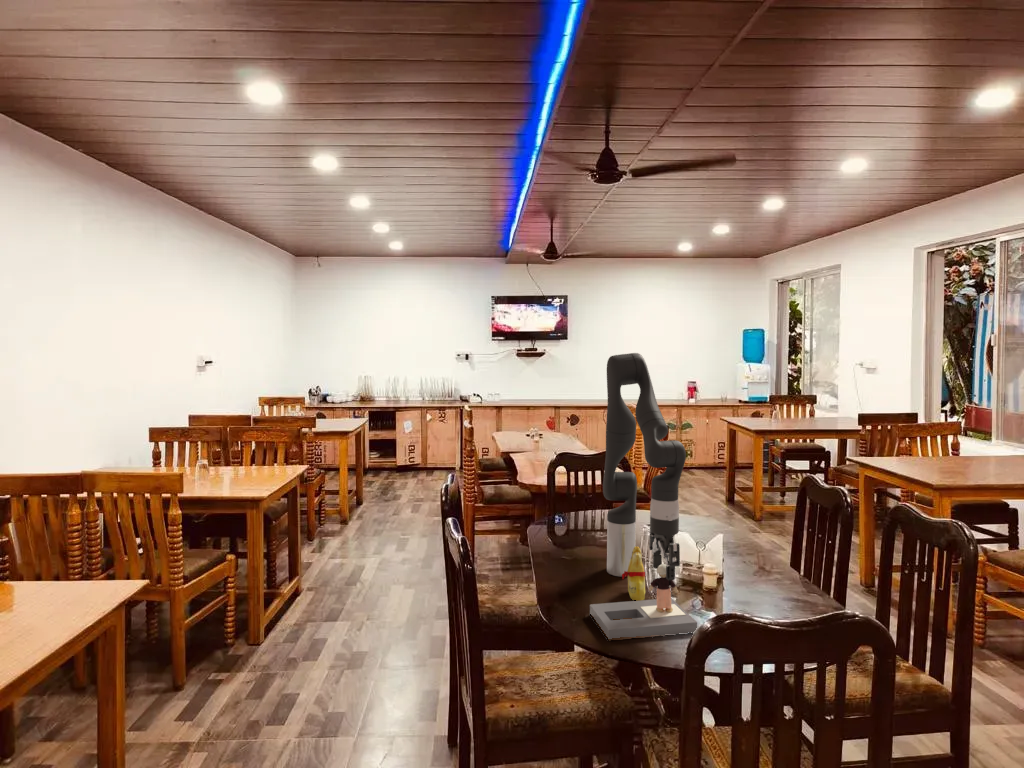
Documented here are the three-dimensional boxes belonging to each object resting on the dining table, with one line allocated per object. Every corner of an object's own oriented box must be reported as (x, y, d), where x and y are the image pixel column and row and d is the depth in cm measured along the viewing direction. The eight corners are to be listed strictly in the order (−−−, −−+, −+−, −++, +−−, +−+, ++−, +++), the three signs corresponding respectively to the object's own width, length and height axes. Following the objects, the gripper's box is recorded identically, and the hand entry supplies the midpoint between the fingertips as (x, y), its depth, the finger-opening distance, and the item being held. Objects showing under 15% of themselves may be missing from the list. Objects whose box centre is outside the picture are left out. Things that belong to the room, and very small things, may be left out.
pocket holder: (589, 615, 178) (589, 603, 178) (670, 608, 182) (671, 597, 182) (608, 641, 162) (608, 629, 162) (696, 633, 167) (697, 621, 167)
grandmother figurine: (674, 606, 176) (674, 561, 175) (678, 612, 172) (679, 566, 171) (646, 608, 175) (647, 562, 174) (650, 613, 171) (651, 567, 170)
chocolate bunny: (642, 588, 197) (643, 540, 196) (647, 603, 186) (647, 552, 185) (620, 587, 198) (620, 540, 197) (623, 602, 187) (623, 551, 186)
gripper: (641, 508, 178) (640, 565, 179) (662, 523, 164) (661, 585, 165) (666, 507, 179) (665, 563, 180) (689, 521, 165) (688, 582, 166)
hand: (663, 573), depth 173 cm, fingers open, 8 cm apart
